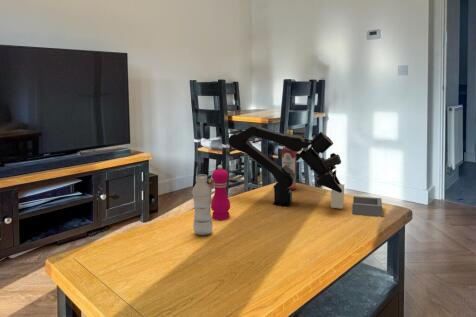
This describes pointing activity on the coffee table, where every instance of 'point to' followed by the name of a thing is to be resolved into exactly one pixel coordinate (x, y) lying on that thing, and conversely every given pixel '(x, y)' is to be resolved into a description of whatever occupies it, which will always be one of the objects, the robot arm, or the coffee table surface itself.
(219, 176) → the pepper mill
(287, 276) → the coffee table surface
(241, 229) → the coffee table surface
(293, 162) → the liquor
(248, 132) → the robot arm
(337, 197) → the white rectangular block
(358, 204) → the frame
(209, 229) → the plastic bottle
